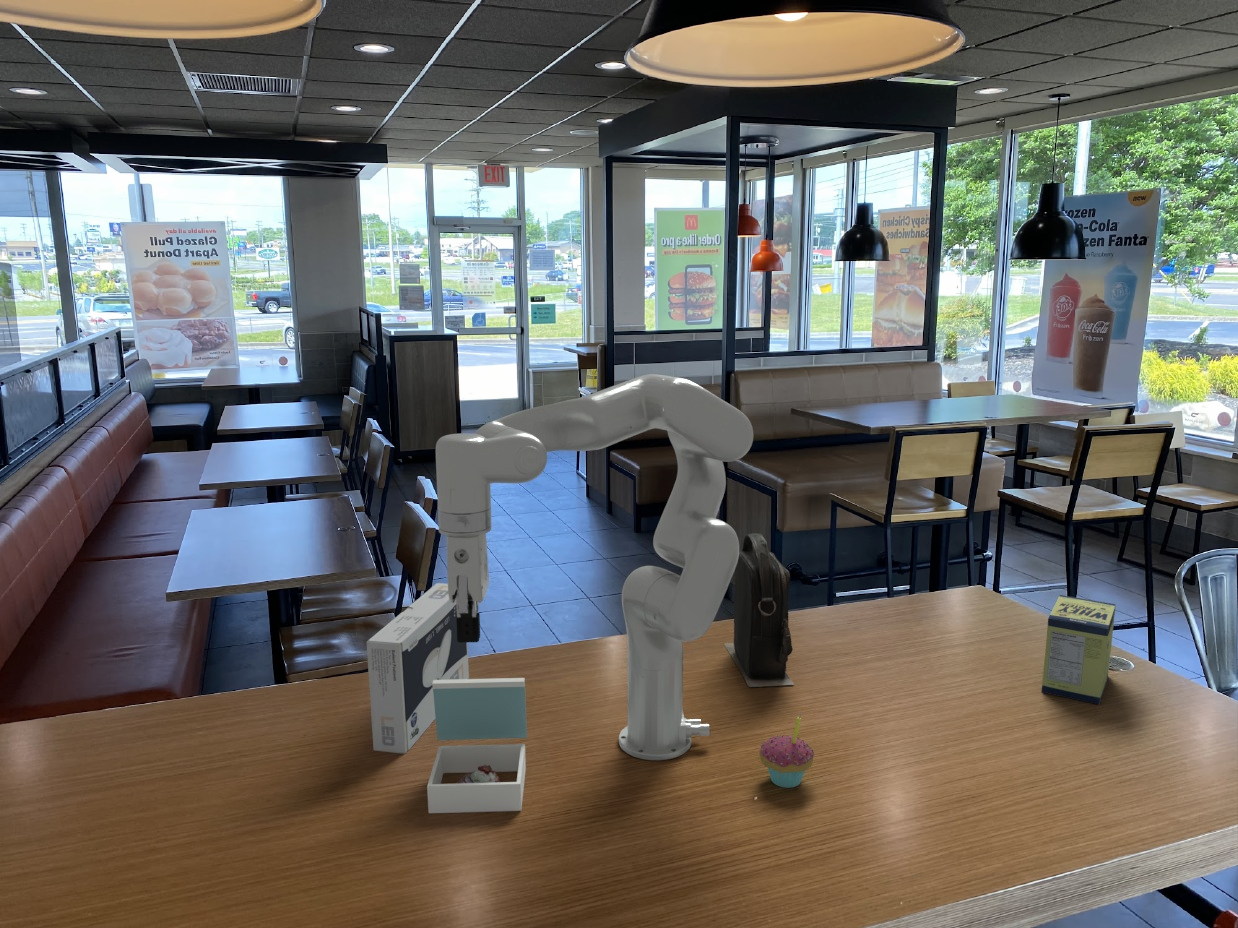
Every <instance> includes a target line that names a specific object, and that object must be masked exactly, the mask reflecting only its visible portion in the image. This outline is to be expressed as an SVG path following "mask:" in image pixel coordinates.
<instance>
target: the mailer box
mask: <svg viewBox="0 0 1238 928" xmlns="http://www.w3.org/2000/svg"><path fill="white" fill-rule="evenodd" d="M435 756H436V757H435V759H434V762H433V766H432V770H431V773H430V776H429V779H428V783H427V786H426V790H427V807H428V808H427V810H428V814H449V813H450V814H451V813H452V814H454V813H486V812H487V813H488V812H493V813H494V812H519V811H520V812H522V807H523V798H524V788H525V780H526V779H525V777H526V769H527V767H526V765H527V763H526V744H525V743H517V744H516V743H515V744H482V745H481V744H480V745H479V744H476V745H475V744H473V745H472V744H471V745H439V746H438V749H437V752H436V755H435ZM483 765H486V766H488V765H490V767H491V768H492V770H494V771H495V773H500V772H501V773H502V772H505V773H507V772H517V777H516V781H505V782H504V781H503V782H501V781H500V782H494V783H458V782H456V783H442V781H443V780H442V779H443V776H444V774H457V773H458V774H459V773H461V774H462V773H463V774H464V773H466V774H469V773H472V772H474V771H477V770H478V767H479V766H483Z"/></svg>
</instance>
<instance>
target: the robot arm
mask: <svg viewBox="0 0 1238 928" xmlns="http://www.w3.org/2000/svg"><path fill="white" fill-rule="evenodd" d="M654 429H657V430H663V431H667V435H668V438H669V441H670V443H671V445H672V447H673V450H674V452H675V456H676V461H677V462H676V463H677V473H676V480H675V482H674V484H673V488H672V491H671V493H670V495H669V498H668V500H667V503H666V505H665V507H664V509H663V511H662V514H661V517H660V519H659V521H658V524H657V527H656V529H655V531H654V535H653V540H652V541H653V542H652V543H653V549H654V551H655V553H656V554H657V555H658V556H659V557H661V559H663V560H664V561H666V562H669V563H671V564H673V565H675V566H677V567H680V568H682V572H681V574H680V575H679V574H677V573H675V572H673V571H670V570H668V569H666V568H663V567H660V566H655V565H644V566H639V567H638V568H636V569H634V570H633V571H631V573H630V574H629V575H628V576H627V577H626V579H625V580H624V583H623V586H622V590H621V605H622V611H623V618H624V621H625V622H624V623H625V629H626V641H627V642H626V643H627V646H626V647H627V658H626V659H627V725H626V726H625V727H624V728H623V729H621V730H620V732H619V733H618V734H619V735H618V744H619V747H620V748H621V750H622V751H624V752H625V753H626V754H628V755H630V756H631V757H634V758H637V759H641V760H647V761H666V760H671V759H674V758H677V757H680V756H681V755H684V754H685V753H687V752H688V751H689V749H690V748H691V745H692V736H703V737H705V736H710V734H711V731H710V730H711V729H710V724H709V723H702V721H701V719H700V718H693V719H692V718H691V719H688V718H686V717H685V715H684V711H683V699H684V698H683V693H684V692H683V687H684V686H683V685H684V682H683V681H684V673H683V672H684V643H683V642H687V643H688V642H693V641H696V640H699V639H700V638H701V637H702V636H704V635H705V633H706V632H707V631H708V630H709V629H710V627H711V626H712V624H713V622H714V621H715V619H716V617H717V614H718V612H719V609H720V608H721V607H720V606H721V604H722V602H723V600H724V597H725V594H726V592H727V590H728V588H729V585H730V583H731V581H732V578H733V575H734V574H735V568H736V565H737V562H738V557H739V552H740V541H739V537H738V535H737V532H736V531H735V529H734V528H733V527H732V526H731V525H730V524H728V523H727V522H725V521H723V520H721V519H718V518H717V516H718V513H719V509H720V507H721V504H722V500H723V498H724V494H725V492H726V485H727V480H726V479H727V478H726V471H725V466H724V462H725V463H726V462H727V463H729V462H735V461H738V460H740V459H742V458H743V457H744V456H745V455H747V454H748V452H749V451H750V449H751V447H752V445H753V442H754V430H753V429H754V428H753V426H752V422H751V421H750V419H749V417H748V416H747V415H746V414H744V413H743V412H742V411H741V410H740V409H738V408H737V407H735V406H733V405H732V404H730V403H728V402H727V401H725V400H724V399H722V398H720V397H718V396H717V395H716V394H714V393H712V392H711V391H709V390H707V388H704V387H702V386H701V385H699V384H698V383H695V382H694V381H692V380H691V379H690V380H689V379H687V378H682V377H676V376H670V375H664V374H656V373H650V374H644V375H640V376H637V377H634V378H631V379H628V380H626V381H623V382H620V383H618V384H615V385H612V386H609V387H607V388H603V389H601V390H599V391H596V392H593V393H590V394H588V395H585V396H581V397H578V398H572V399H567V400H563V401H559V402H554V403H550V404H545V405H541V406H535V407H531V408H526V409H524V410H523V409H522V410H520V411H517V412H513V413H511V414H507V415H506V416H502V417H500V418H497V419H494V420H492V421H489V422H487V423H485V424H484V425H482V426H480V427H479V428H478V429H477V430H476V431H475V432H474V433H465V432H463V433H450V434H446V435H443V436H441V437H439V439H438V440H437V441H436V443H435V469H436V490H437V491H436V492H437V517H438V519H437V520H438V533H439V534H441V535H444V536H446V572H447V573H446V576H447V584H448V594H449V600H450V601H451V602H452V603H454V602H455V599H456V607H457V616H456V622H457V641H458V642H460V643H463V642H467V643H478V642H479V641H480V638H481V620H480V618H481V616H480V612H479V608H480V607H479V603H481V604H482V602H483V601H484V600H485V598H486V595H487V592H488V589H489V584H490V577H489V562H488V561H489V559H488V557H489V556H488V543H487V534H488V533H489V532H490V531H492V499H491V497H492V495H491V493H492V492H491V485H492V484H524V483H528V482H531V481H533V480H536V479H537V478H538V477H540V475H541V474H542V473H543V471H544V470H545V468H546V466H547V462H548V453H550V452H558V451H559V452H560V451H562V452H563V451H571V452H586V451H596V450H597V451H598V450H602V449H604V448H607V447H610V446H612V445H615V444H617V443H619V442H622V441H624V440H627V439H629V438H631V437H634V436H636V435H639V434H642V433H645V432H647V431H650V430H654Z"/></svg>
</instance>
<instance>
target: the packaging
mask: <svg viewBox="0 0 1238 928" xmlns="http://www.w3.org/2000/svg"><path fill="white" fill-rule="evenodd" d="M456 616H457V607H456V599H455V602H454V603H452V602H451V601H450V600H449V594H448V583H442V582H436V583H435V584H434V585H433V586H431V587H430V588H429V589H428V590H427V591H426V592H424V593H423V594H422V595H421V596H420V597H419V598H418V599H416V600H415V601H414V602H412V603H411V604H410V605H409V606H408V607H407V608H406V609H405V610H404V611H402V612H400V613H399V614H398V615H397V616H395V618H393V619H392V620H391V621H390V622H388V623H387V624H386V625H385V626H384V627H383V628H381V629H380V630H379V631H378V632H377V633H375V634H374V635H372V637H370V638H369V639H368V640H367V641H366V654H367V655H366V656H367V668H368V670H367V671H368V681H369V684H368V685H369V699H370V719H371V732H372V733H371V734H372V744H373V745H372V747H373V751H374V752H375V751H377V752H387V753H396V754H404V755H405V754H407V752H409V751H410V750H411V748H412V747H413V746H414V745H415V743H416V742H418V740H419V739H420V738H421V737H422V735H423V734H424V733H425V731H426V730H427V729H428V728H429V727H430V726H431V724H433V722H434V721H436V717H435V706H434V694H433V686H432V683H433V680H451V679H470V672H469V670H470V669H469V648H468V645H469V644H468V642H463V643H460V642H458V641H457V622H456Z"/></svg>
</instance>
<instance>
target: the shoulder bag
mask: <svg viewBox="0 0 1238 928" xmlns="http://www.w3.org/2000/svg"><path fill="white" fill-rule="evenodd" d="M742 544H743V545H742V549H741V551H739V557H738V562H737V565H736V568H735V570H734V593H733V594H734V595H733V597H734V598H733V605H734V606H733V642H726V643H723V645H724V646H725V649H726V650H727V652H728V654H729V655H730V656H731V658H732V660H733V662H734V664H735V665H736V667H737V668H738V670H739V672H740V673H741V675H742V676H743V679H744V680H745V683H746V684H747V686H748V687H749V688H757V687H758V688H762V687H777V686H779V687H780V686H795V683H794V682H793V681H792V679H791V678H790V676H789V675H788V674H787V672H786V671H787V662H788V661H789V656H790V655H791V654H792V652H793V645H792V643H793V642H792V635H791V630H790V628H789V627H790V626H789V592H790V586H791V575H790V571H789V570H788V569H787V568H786V567H785V566H784V565H783V564H782V563H781V561H780V560H779V559H778V558H777V557H776V555H775V553H773V552H771V551H770V550H769V546H768V541H767V540H766V537H765V536H764V535H763V533H758V532H757V533H756V532H755V533H749V534H746V535H745V536H744V537H743V543H742Z"/></svg>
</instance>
